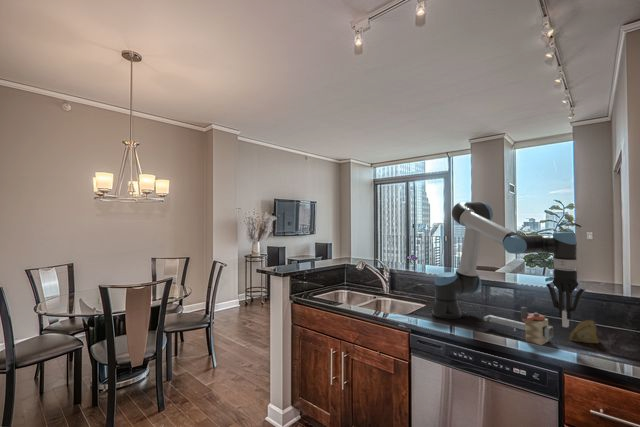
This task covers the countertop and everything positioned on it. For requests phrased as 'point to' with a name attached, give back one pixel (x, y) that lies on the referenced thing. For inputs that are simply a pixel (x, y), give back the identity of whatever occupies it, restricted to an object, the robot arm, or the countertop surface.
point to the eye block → (536, 331)
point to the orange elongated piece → (530, 315)
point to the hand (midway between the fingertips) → (565, 326)
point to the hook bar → (518, 325)
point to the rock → (585, 332)
